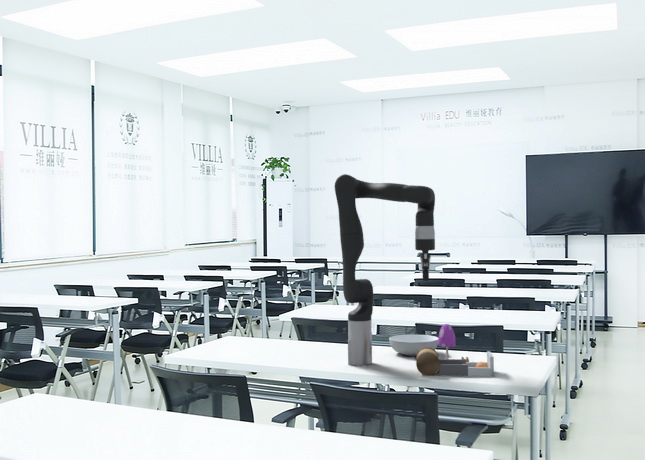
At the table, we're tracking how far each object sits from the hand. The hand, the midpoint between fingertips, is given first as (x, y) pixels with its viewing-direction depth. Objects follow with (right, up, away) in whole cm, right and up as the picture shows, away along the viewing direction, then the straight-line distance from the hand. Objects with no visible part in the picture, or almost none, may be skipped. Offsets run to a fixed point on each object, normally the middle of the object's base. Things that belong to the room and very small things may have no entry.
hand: (425, 279), depth 246 cm
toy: (+9, -33, +6) cm, 35 cm away
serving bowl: (-1, -34, +23) cm, 41 cm away
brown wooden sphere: (-1, -33, -12) cm, 35 cm away
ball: (+18, -31, -16) cm, 39 cm away
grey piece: (+12, -33, -14) cm, 38 cm away
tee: (+14, -33, -7) cm, 36 cm away
